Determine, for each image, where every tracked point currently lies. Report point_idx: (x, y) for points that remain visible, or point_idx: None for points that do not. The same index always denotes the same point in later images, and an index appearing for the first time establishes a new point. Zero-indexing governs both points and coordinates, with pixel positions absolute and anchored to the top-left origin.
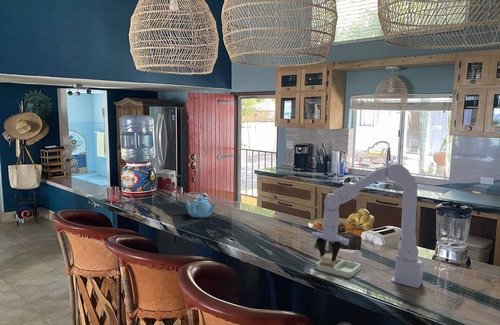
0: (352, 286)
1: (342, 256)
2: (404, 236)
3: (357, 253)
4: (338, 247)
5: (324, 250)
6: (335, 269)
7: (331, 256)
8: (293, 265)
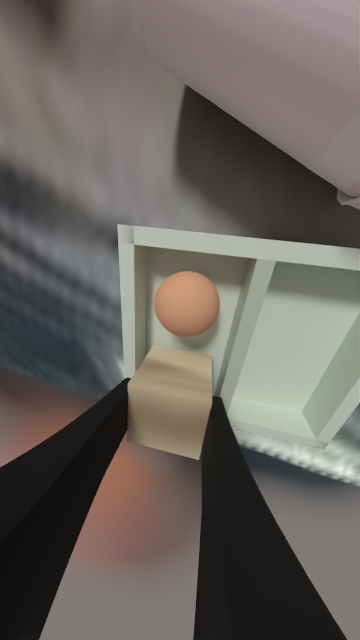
0: (313, 451)
1: (241, 114)
2: None
3: None
4: (266, 575)
5: (106, 427)
6: (235, 426)
7: (187, 414)
8: (53, 361)
